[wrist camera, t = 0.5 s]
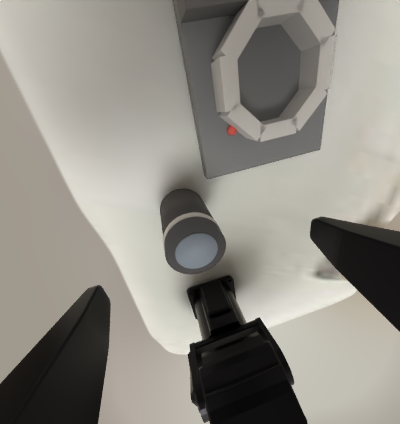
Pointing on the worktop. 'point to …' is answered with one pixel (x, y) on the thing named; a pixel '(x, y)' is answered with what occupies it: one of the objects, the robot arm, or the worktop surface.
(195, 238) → the lens
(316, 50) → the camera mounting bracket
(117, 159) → the worktop surface
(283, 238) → the worktop surface
